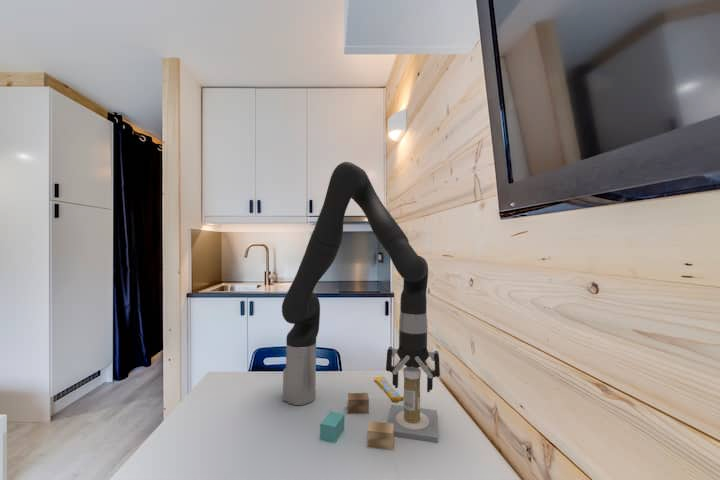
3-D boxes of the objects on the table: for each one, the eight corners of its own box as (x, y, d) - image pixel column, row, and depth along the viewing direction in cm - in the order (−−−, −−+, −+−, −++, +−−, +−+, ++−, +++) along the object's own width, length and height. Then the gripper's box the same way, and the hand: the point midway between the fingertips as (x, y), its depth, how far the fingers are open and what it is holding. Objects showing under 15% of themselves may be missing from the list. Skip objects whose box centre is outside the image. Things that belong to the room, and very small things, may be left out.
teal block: (320, 439, 75) (320, 423, 75) (330, 426, 81) (330, 411, 81) (334, 443, 74) (335, 426, 74) (344, 429, 79) (344, 414, 79)
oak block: (367, 447, 72) (367, 430, 72) (369, 437, 76) (369, 421, 76) (392, 450, 71) (392, 433, 71) (393, 440, 75) (393, 423, 75)
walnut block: (347, 413, 87) (347, 399, 87) (347, 406, 91) (348, 393, 91) (368, 413, 87) (368, 399, 87) (367, 406, 91) (368, 393, 91)
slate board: (384, 434, 77) (385, 429, 77) (391, 408, 90) (391, 404, 90) (437, 442, 74) (437, 437, 74) (436, 414, 87) (436, 409, 87)
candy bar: (405, 402, 94) (405, 396, 94) (392, 405, 93) (392, 398, 93) (384, 380, 110) (384, 375, 110) (373, 381, 109) (373, 376, 109)
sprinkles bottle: (423, 420, 81) (424, 369, 82) (411, 425, 79) (411, 373, 79) (412, 412, 85) (412, 364, 85) (399, 417, 83) (400, 367, 83)
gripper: (385, 330, 81) (384, 392, 80) (440, 334, 77) (440, 399, 77) (388, 323, 88) (388, 380, 88) (439, 327, 85) (439, 386, 84)
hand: (412, 388), depth 82 cm, fingers open, 8 cm apart
